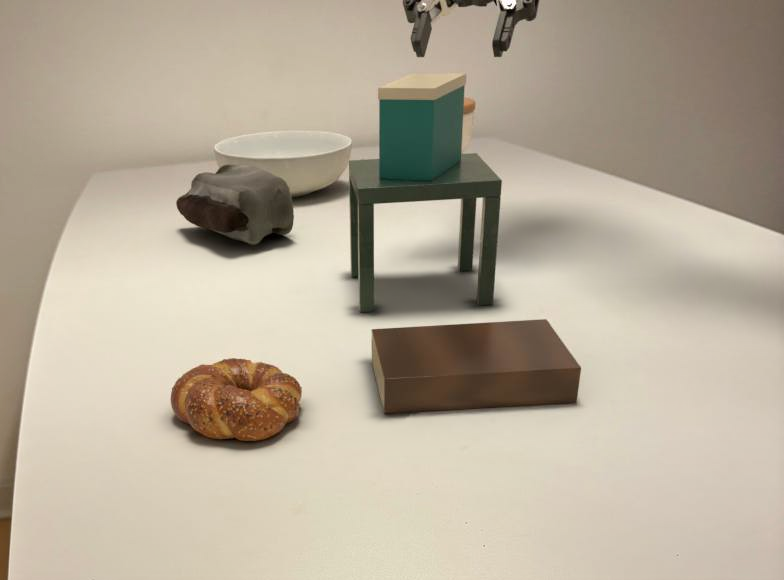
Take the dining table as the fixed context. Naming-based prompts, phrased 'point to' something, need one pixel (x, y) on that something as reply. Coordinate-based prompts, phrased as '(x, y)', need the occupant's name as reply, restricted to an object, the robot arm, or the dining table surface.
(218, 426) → the pretzel
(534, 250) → the dining table surface
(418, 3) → the robot arm
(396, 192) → the upper shelf
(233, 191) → the rock
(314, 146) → the serving bowl
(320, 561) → the dining table surface
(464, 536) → the dining table surface
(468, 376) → the low shelf
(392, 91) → the box
